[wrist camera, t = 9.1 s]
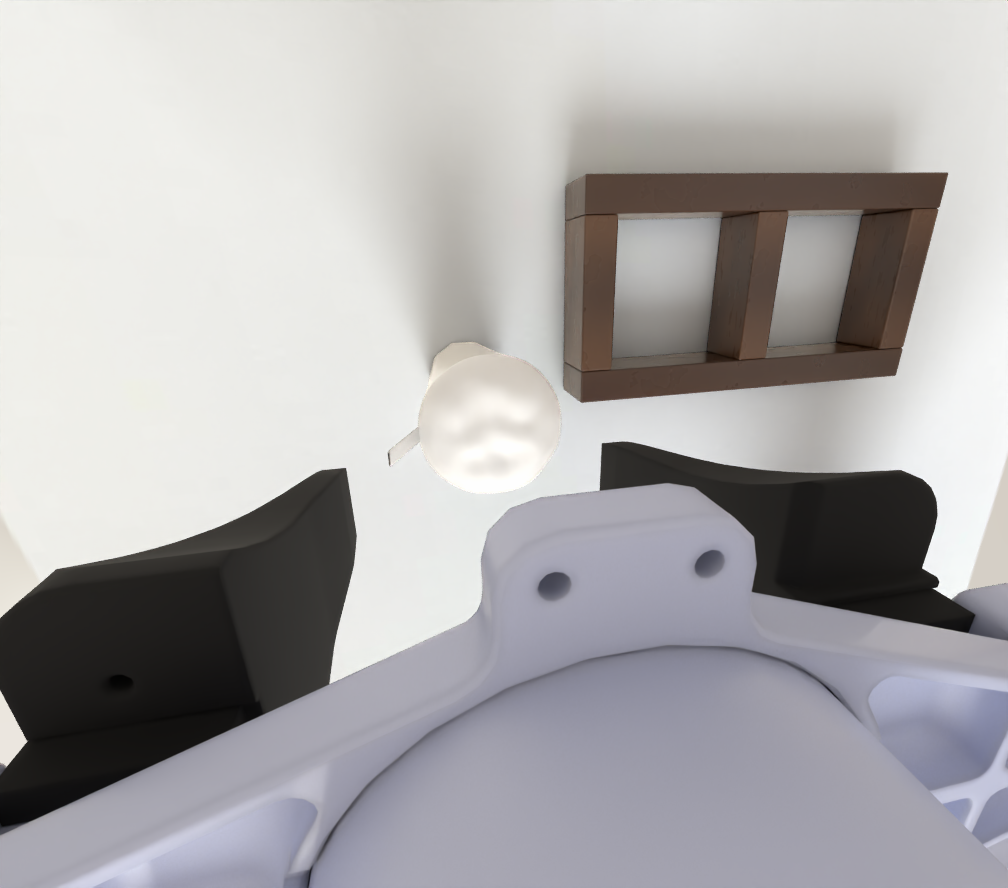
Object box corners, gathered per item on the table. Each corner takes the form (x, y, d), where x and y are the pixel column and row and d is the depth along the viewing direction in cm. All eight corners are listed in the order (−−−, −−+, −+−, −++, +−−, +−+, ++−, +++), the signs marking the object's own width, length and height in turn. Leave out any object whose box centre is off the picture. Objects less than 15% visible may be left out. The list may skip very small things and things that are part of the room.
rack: (851, 366, 26) (896, 375, 24) (563, 389, 23) (580, 403, 21) (893, 182, 23) (949, 172, 21) (565, 185, 20) (586, 173, 18)
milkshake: (392, 328, 21) (378, 373, 12) (510, 324, 22) (585, 362, 13) (402, 426, 22) (396, 533, 13) (512, 418, 23) (578, 513, 14)
